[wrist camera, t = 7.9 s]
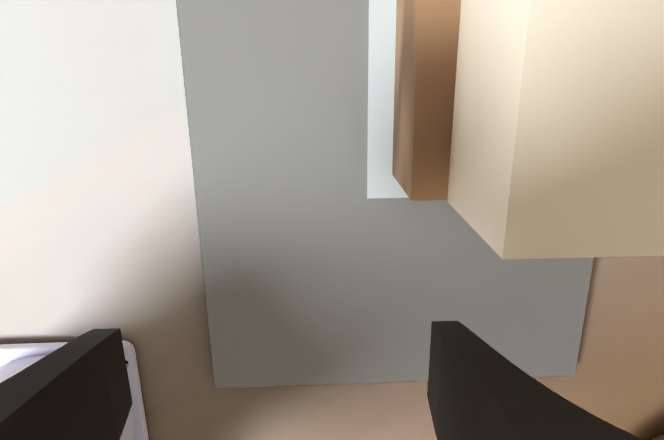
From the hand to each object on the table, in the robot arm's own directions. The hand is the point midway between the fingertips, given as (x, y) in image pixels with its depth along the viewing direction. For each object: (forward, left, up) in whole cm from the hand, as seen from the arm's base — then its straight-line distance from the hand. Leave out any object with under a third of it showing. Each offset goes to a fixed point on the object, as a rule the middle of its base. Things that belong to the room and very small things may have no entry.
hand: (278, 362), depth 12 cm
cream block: (+6, -8, -6) cm, 11 cm away
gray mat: (+1, -5, -10) cm, 11 cm away
